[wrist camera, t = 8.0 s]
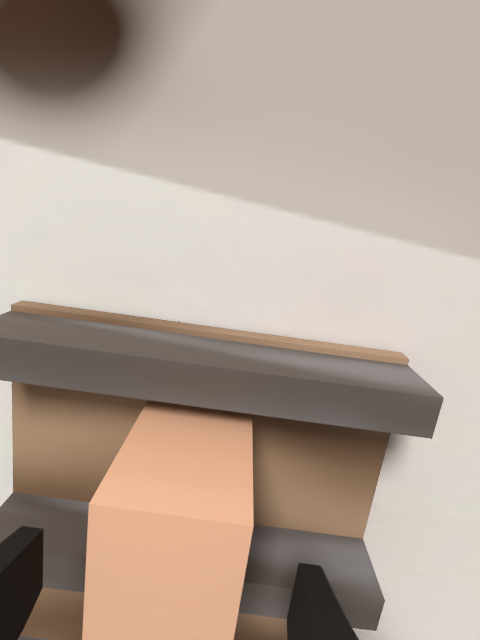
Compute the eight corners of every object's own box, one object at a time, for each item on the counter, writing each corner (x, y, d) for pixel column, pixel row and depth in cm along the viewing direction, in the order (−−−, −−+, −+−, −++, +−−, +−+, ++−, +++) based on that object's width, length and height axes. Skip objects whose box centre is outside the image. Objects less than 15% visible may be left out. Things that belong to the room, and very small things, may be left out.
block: (235, 499, 17) (226, 677, 11) (146, 487, 17) (80, 658, 11) (252, 398, 16) (253, 526, 9) (156, 385, 16) (88, 504, 9)
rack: (318, 682, 21) (332, 780, 17) (23, 644, 21) (-25, 734, 17) (401, 352, 16) (445, 390, 13) (22, 300, 16) (-45, 324, 13)
